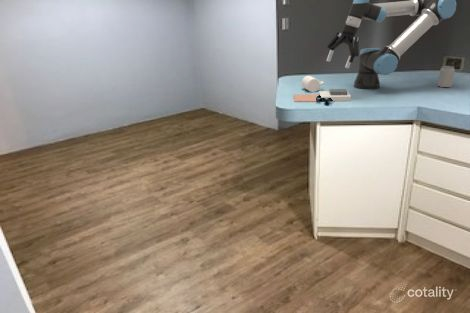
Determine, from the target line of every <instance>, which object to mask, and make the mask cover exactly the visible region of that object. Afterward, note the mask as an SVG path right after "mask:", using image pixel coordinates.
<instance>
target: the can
mask: <svg viewBox="0 0 470 313" xmlns="http://www.w3.org/2000/svg"><path fill="white" fill-rule="evenodd" d="M455 71H456V69H455V66H452V65H443V66H441V68H440V70H439V74H438V80H437V86H438V87H439V86H440V87H439V88H442V87H449V88H451V87H452V86H453V81H454V76H455Z"/></svg>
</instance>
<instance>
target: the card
mask: <svg viewBox="0 0 470 313" xmlns="http://www.w3.org/2000/svg"><path fill="white" fill-rule="evenodd" d="M328 91H329V93H330V95H347V91H348V90H347V89H346V88H329V90H328Z"/></svg>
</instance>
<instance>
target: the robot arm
mask: <svg viewBox="0 0 470 313" xmlns="http://www.w3.org/2000/svg"><path fill="white" fill-rule="evenodd" d="M456 11H457V1H456V0H402V1H391V2H381V3H380V2H379V3H371V2H370V0H353V2H352V5H351V7H350V10H349V13H348V15H347V18H346V21H345V24H344V26H343V28H342V33H341V32H339V31H338V32H336V35H335V36H334V37H333V39H332V40H330V42H329V44H328V45H327V48H328V53H327V58H326V62H328V63H330V62H331V60H332V57H333V55H334V52H335V49H336V48H338V47H339V46H340V45H341V44H343V43H344V44H347V45H348V49H349V53H350V55H349V56H348V58H347V61H346V62H345V63H346V64H345V66H344V68H345V69H350V66H351V64H352V63H353V62H354V59H355V57H359V58H358V70H357V75H356V78H355V80H354V81H353V82H354V83H353V87H354V88H357V89H361V90H376V89H378V88H380V84H381V82H380V77H379V75H381V76H382V75H383V76H387V75H390V74H392V73H393V72H395V71H396V69H397V68H398V64H399V61H400V60H401V56H402V55H403V54H404V53H405V52H407V50H408V49H409V48H410V47H411V46H413V44H415V43H416V42H417V41H419V39H420V38H421V37H422V36H423V35H424V34H425V33H426V32H427V31H428V30H429V29H431V27H433V26H437V25H439V23H441V22H442V21H443V20H446V19H450V18H451V17H453V15H454V14H455V12H456ZM408 15H409V16H411V17H415V16H417V17H418V18H416V19H415V20H414V21H413V22H412V23H411V24H410V25H409V26H408V27H407V28H406V29H404V30H403V32H402V33H401V34H400V35H399V36H398V37H396V39H395V40H394V41H392V42H391V43H390V44H389V45H385V46H383V47H382V49H381V47H369V48H362V49H361V50H360V51H359V46H360V44H359V42H360V37H358V36H356V35H357V33H358V31H359V28H360V25H361V22H362V20H366V21H367V20H368V21H373V22H375V23H376V22H377V23H381V22H383V21H384V20H385V18H386V17H396V16H397V17H398V16H408Z"/></svg>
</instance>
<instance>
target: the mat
mask: <svg viewBox="0 0 470 313" xmlns="http://www.w3.org/2000/svg"><path fill="white" fill-rule="evenodd" d="M317 96H319V93H318V94H315V93H314V94H293V102H294V103H301V102H302V103H310V102H311V103H312V102H314V103H316V97H317Z"/></svg>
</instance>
